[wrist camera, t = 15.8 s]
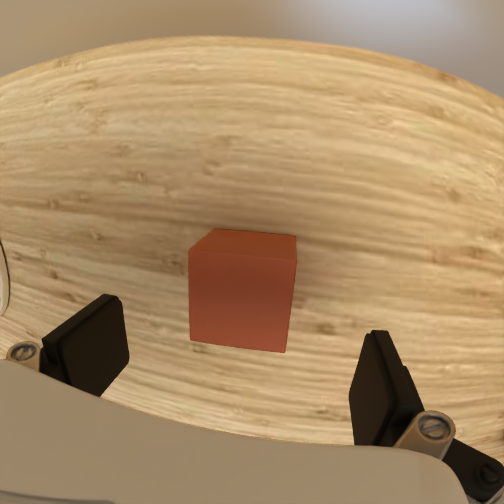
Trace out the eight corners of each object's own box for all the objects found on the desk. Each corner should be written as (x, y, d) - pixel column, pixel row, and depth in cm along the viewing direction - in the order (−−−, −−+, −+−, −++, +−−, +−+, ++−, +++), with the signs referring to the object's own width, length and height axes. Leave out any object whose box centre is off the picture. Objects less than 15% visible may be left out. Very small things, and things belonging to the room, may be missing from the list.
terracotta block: (214, 228, 19) (188, 249, 14) (296, 235, 18) (296, 259, 14) (212, 302, 20) (189, 340, 16) (287, 310, 20) (285, 353, 15)
